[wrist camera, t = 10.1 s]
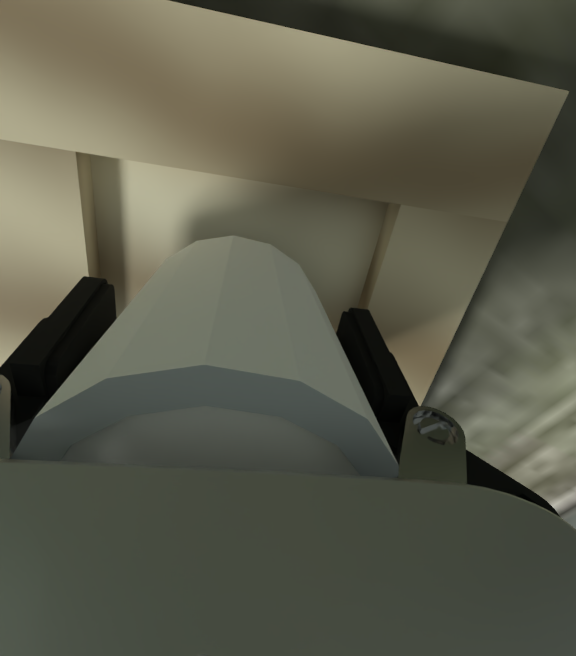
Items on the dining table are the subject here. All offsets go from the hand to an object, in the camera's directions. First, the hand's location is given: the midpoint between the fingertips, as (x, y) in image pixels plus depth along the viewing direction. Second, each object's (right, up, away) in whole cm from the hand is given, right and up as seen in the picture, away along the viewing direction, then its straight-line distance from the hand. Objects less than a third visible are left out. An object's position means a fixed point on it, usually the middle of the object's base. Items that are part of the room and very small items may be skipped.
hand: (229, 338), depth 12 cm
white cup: (0, +1, +1) cm, 1 cm away
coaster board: (0, +2, +3) cm, 3 cm away
